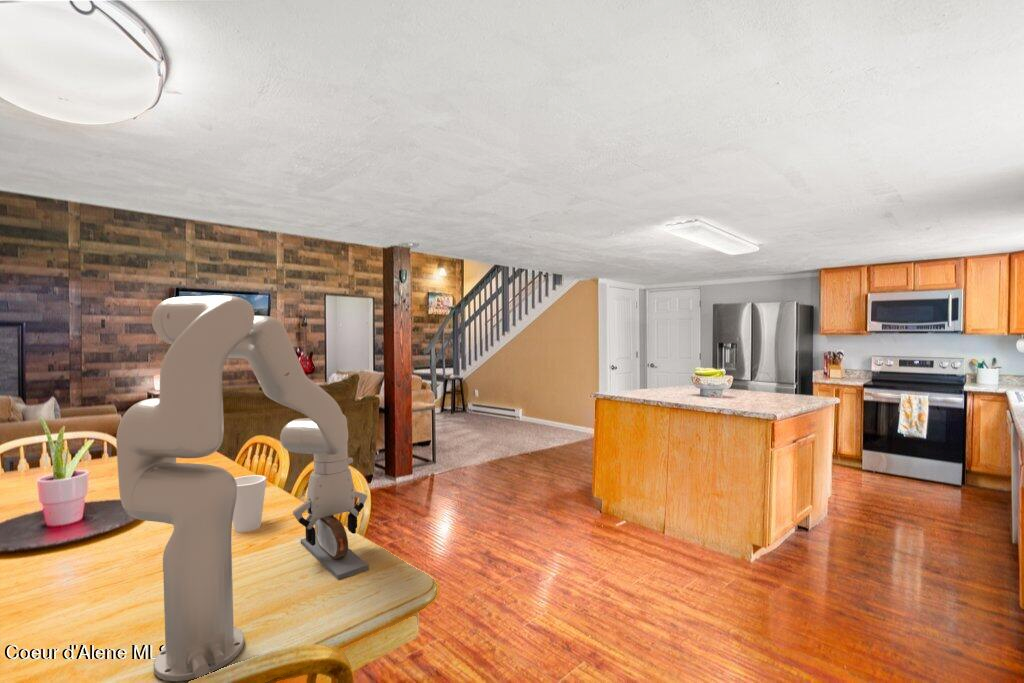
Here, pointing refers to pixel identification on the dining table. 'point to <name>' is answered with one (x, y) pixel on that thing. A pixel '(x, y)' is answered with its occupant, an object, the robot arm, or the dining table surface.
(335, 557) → the tin
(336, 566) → the charcoal mat
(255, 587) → the dining table surface
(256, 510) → the foam cup
